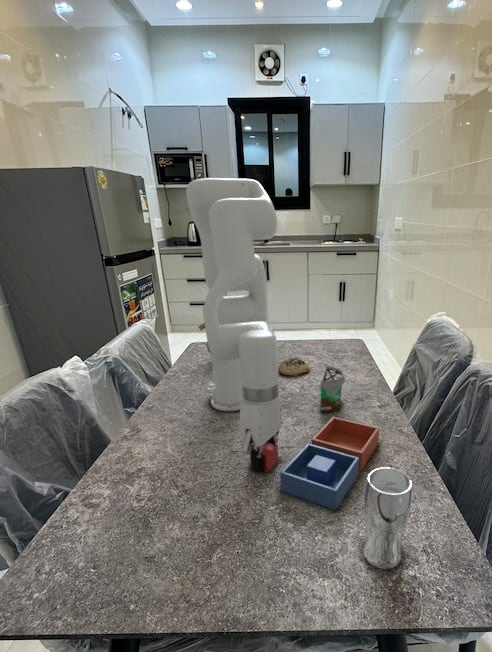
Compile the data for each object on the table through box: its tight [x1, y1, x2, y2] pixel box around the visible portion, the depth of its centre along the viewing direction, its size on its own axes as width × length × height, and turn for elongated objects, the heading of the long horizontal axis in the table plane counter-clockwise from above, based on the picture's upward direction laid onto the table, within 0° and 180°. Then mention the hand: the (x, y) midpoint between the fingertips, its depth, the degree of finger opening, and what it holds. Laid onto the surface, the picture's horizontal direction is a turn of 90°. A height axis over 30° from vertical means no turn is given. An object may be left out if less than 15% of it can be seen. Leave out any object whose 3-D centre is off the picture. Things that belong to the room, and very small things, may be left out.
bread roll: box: [278, 356, 310, 376], centre depth 138 cm, size 11×11×5 cm
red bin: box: [311, 416, 380, 471], centre depth 91 cm, size 12×12×4 cm
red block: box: [249, 442, 279, 473], centre depth 86 cm, size 4×4×4 cm
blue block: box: [307, 455, 335, 487], centre depth 79 cm, size 4×4×4 cm
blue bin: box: [279, 443, 359, 511], centre depth 80 cm, size 12×12×4 cm
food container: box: [320, 366, 346, 413], centre depth 111 cm, size 12×6×10 cm, turn 168°
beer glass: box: [363, 467, 413, 570], centre depth 60 cm, size 7×7×15 cm
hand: (264, 462), depth 87 cm, fingers closed on red block, 4 cm apart
